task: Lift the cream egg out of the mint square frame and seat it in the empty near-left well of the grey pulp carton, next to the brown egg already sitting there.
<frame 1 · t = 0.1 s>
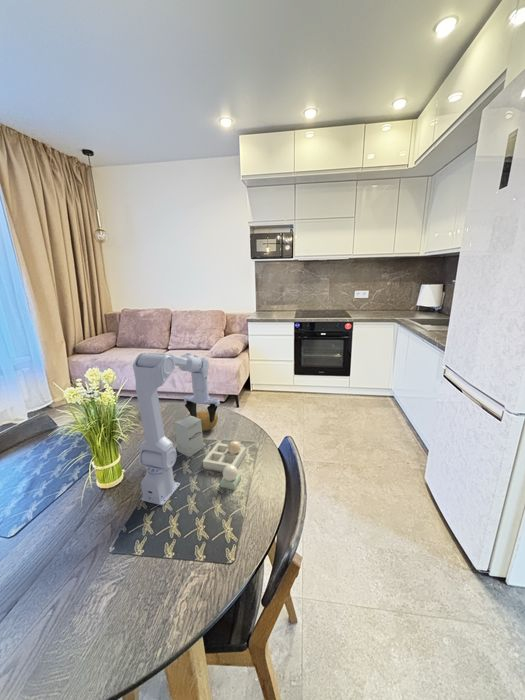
hand: (203, 419, 117), 10 cm above the table, fingers open, 7 cm apart
potato: (202, 429, 130), on the table
supplement box: (190, 450, 115), on the table, touching gripper
brown egg: (234, 447, 108), point 4 cm above the table, touching carton
carton: (225, 461, 108), on the table
cream egg: (230, 472, 96), point 4 cm above the table, touching mint square frame
mint square frame: (230, 483, 97), on the table
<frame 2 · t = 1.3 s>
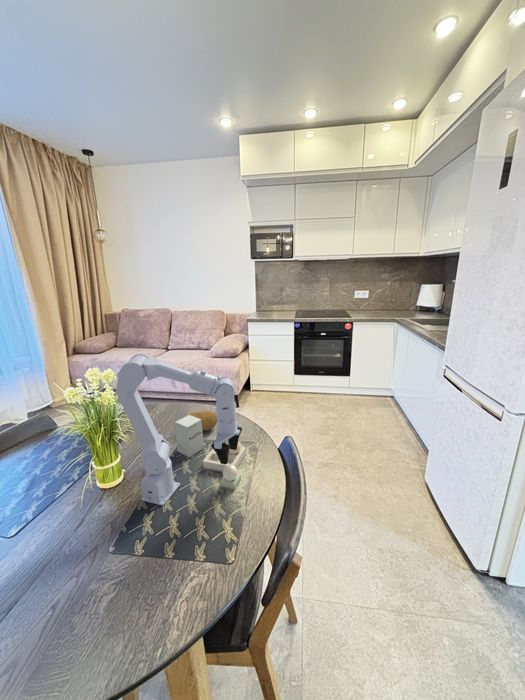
hand: (228, 456, 94), 10 cm above the table, fingers open, 7 cm apart
supplement box: (190, 450, 115), on the table
everything else where it was.
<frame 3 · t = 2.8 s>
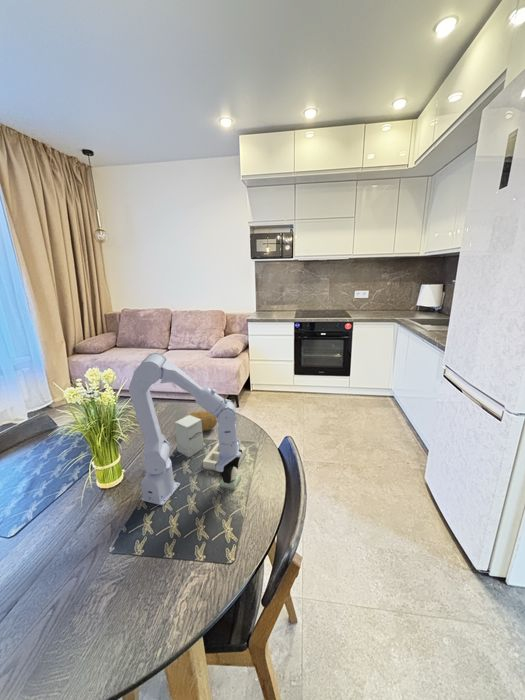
hand: (230, 476, 96), 2 cm above the table, fingers closed on cream egg, 5 cm apart
cream egg: (230, 472, 96), point 4 cm above the table, touching mint square frame, gripper
everything else where it was.
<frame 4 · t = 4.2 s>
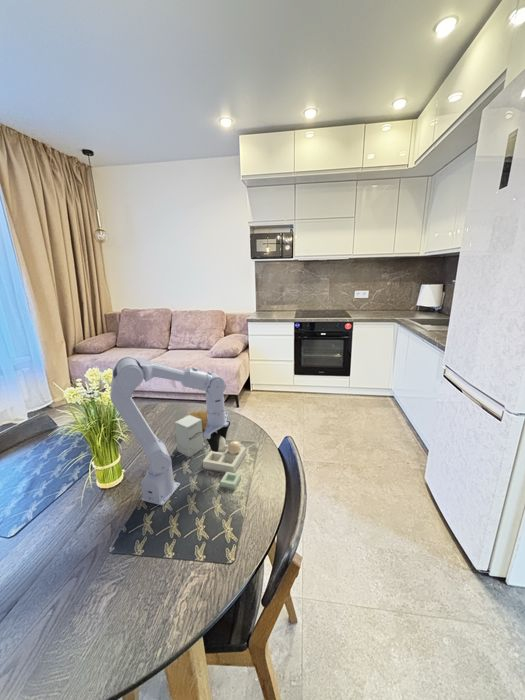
hand: (218, 446, 100), 9 cm above the table, fingers closed on cream egg, 5 cm apart
cream egg: (218, 442, 100), point 11 cm above the table, touching gripper
everything else where it was.
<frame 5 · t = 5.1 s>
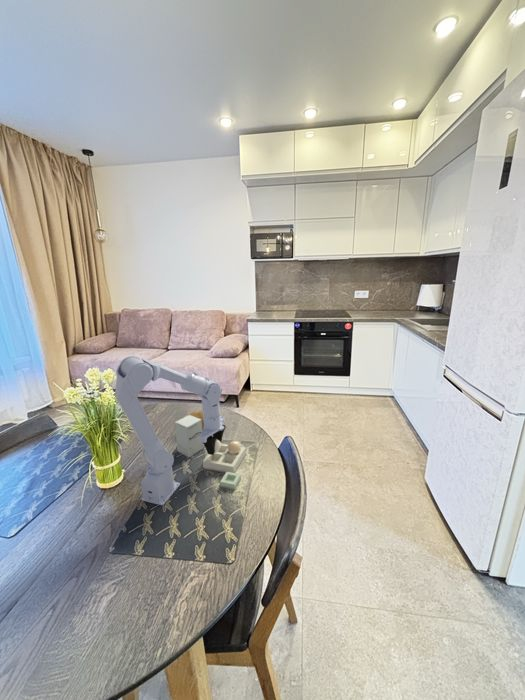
hand: (214, 449, 104), 6 cm above the table, fingers closed on cream egg, 5 cm apart
cream egg: (214, 445, 104), point 8 cm above the table, touching gripper
everything else where it was.
when the fingers open (5 cm above the table, at t = 5.9 s): cream egg drops 2 cm, resting on carton.
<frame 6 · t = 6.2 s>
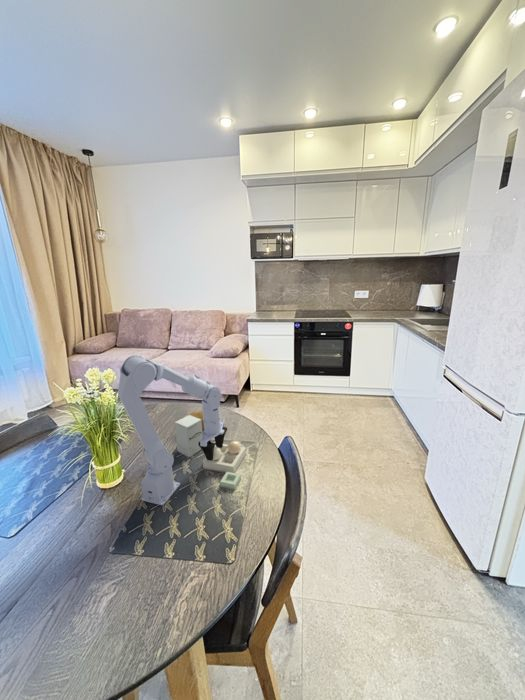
hand: (214, 453, 105), 5 cm above the table, fingers open, 7 cm apart
cream egg: (214, 453, 105), point 4 cm above the table, touching carton
everything else where it was.
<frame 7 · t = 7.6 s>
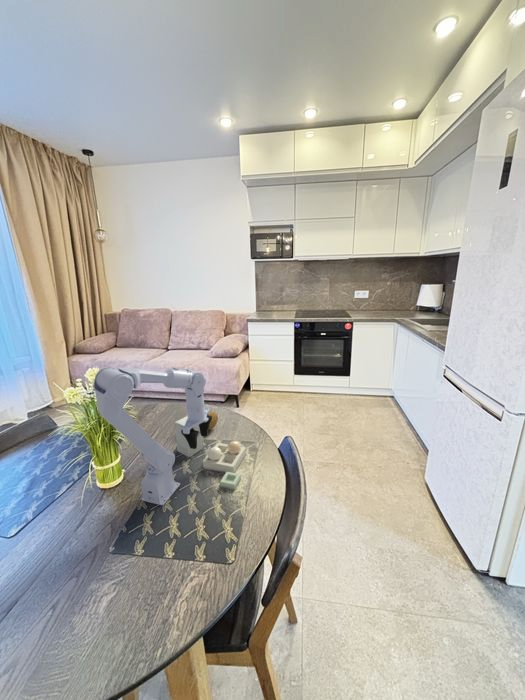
hand: (199, 441, 103), 10 cm above the table, fingers open, 7 cm apart
nothing on the table moved.
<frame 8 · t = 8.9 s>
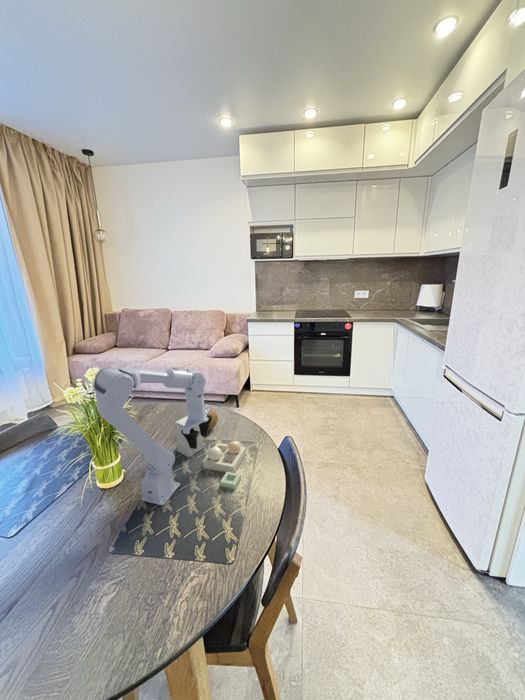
hand: (199, 441, 103), 10 cm above the table, fingers open, 7 cm apart
nothing on the table moved.
at the end: cream egg 0.0 cm from the target spot on the carton, point 4.3 cm above the carton's base; the gripper is holding nothing; brown egg moved 0.1 cm from its start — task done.
